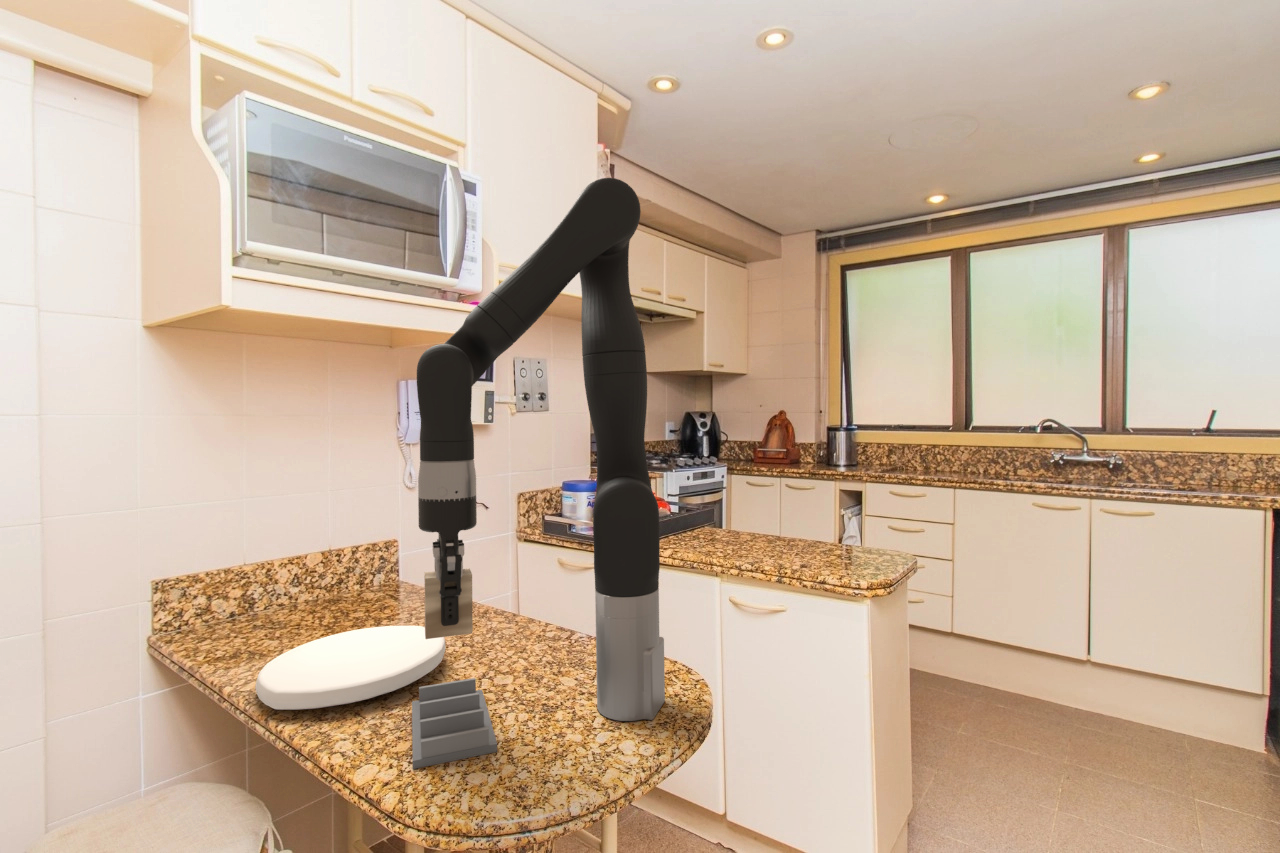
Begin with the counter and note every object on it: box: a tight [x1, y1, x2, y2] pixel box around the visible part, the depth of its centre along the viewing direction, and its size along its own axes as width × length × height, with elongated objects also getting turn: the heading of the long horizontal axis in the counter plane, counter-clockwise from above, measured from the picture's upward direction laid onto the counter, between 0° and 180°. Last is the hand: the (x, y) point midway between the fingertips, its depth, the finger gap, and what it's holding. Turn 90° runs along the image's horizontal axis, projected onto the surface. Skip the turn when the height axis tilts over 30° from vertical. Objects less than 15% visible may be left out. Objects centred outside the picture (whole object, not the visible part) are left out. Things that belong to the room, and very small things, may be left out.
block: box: [423, 568, 474, 639], centre depth 83 cm, size 4×6×8 cm, turn 111°
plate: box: [255, 625, 446, 711], centre depth 100 cm, size 28×6×27 cm
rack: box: [411, 677, 498, 770], centre depth 83 cm, size 17×10×3 cm, turn 21°
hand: (448, 619), depth 83 cm, fingers closed on block, 3 cm apart
